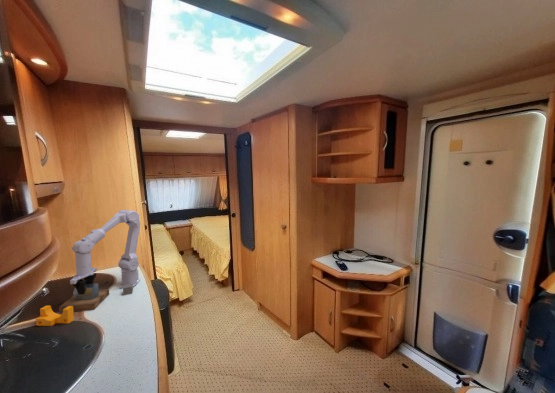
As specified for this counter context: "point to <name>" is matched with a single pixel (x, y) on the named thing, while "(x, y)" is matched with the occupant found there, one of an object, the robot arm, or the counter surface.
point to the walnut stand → (85, 302)
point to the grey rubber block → (127, 289)
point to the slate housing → (87, 292)
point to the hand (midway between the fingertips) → (85, 291)
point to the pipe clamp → (54, 316)
